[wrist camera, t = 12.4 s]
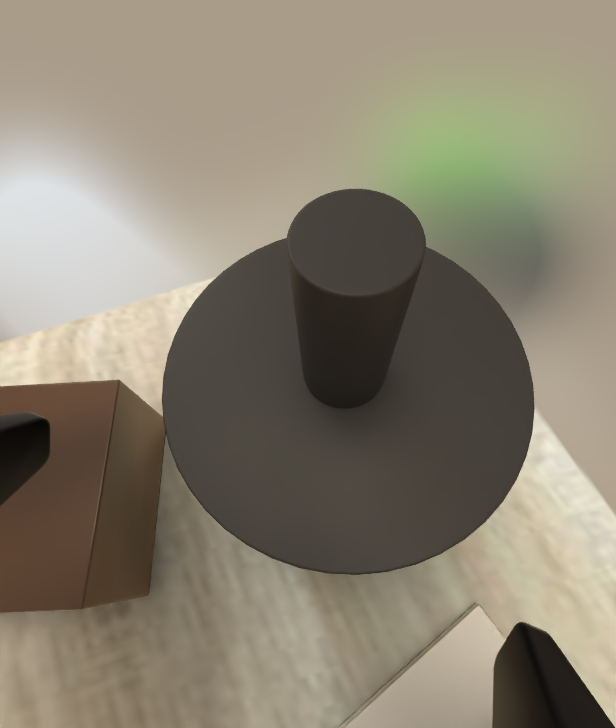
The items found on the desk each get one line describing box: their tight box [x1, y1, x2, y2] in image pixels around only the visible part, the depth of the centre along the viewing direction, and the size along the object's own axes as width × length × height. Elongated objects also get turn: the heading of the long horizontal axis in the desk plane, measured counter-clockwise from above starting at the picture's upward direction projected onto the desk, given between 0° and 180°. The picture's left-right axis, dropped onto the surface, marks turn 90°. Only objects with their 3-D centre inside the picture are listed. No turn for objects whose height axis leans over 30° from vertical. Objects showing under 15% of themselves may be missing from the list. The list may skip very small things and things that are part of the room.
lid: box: [162, 189, 534, 575], centre depth 11 cm, size 12×12×6 cm
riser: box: [0, 380, 166, 613], centre depth 18 cm, size 8×8×6 cm
